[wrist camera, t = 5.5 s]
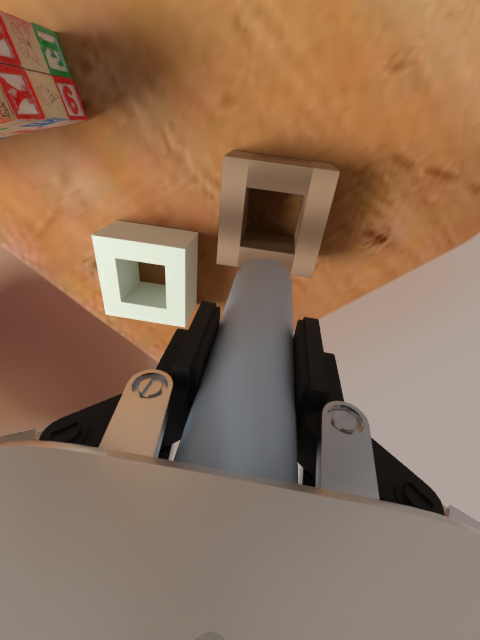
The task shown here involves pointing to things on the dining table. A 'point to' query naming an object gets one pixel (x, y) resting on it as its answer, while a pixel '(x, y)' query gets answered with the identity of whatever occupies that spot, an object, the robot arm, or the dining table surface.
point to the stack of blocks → (34, 80)
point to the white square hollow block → (123, 272)
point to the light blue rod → (248, 382)
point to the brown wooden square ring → (277, 176)
